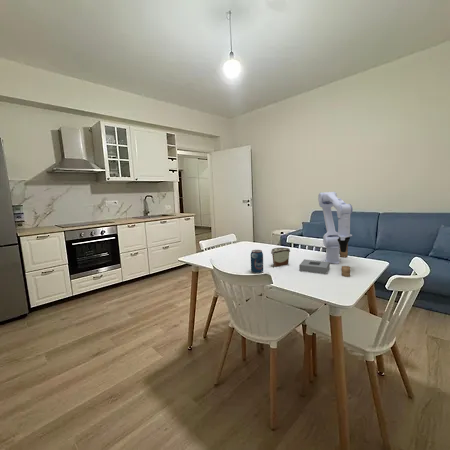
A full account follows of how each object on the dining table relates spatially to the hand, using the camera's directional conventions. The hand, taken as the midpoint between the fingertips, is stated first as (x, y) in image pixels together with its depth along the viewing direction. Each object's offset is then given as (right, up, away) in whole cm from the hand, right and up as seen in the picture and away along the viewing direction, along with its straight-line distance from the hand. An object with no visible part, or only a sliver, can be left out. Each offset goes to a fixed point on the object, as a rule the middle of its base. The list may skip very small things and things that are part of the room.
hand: (343, 251), depth 134 cm
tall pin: (0, -3, 0) cm, 3 cm away
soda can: (-47, -12, +4) cm, 49 cm away
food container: (-32, -10, +15) cm, 37 cm away
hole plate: (-15, -11, +4) cm, 18 cm away
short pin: (-3, -12, -8) cm, 14 cm away
